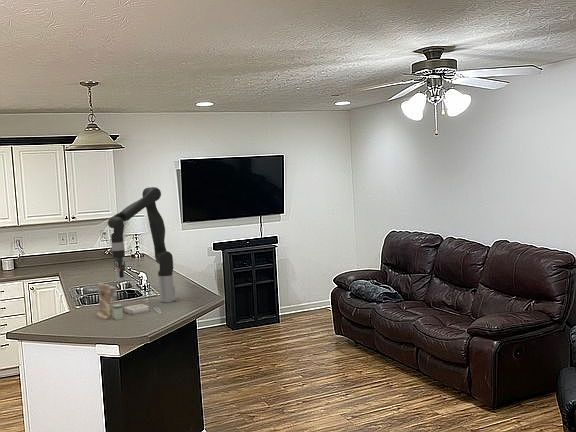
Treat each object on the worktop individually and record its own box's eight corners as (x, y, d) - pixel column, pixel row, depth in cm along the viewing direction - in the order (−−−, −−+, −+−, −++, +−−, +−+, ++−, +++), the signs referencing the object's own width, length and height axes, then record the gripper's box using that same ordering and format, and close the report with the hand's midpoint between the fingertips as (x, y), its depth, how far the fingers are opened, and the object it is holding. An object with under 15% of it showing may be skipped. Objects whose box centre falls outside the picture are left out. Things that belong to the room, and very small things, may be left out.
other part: (120, 317, 358) (119, 304, 357) (123, 318, 354) (121, 305, 354) (113, 318, 355) (112, 305, 355) (116, 320, 352) (115, 306, 351)
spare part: (122, 278, 378) (121, 266, 378) (125, 279, 375) (124, 266, 374) (116, 280, 376) (115, 267, 375) (118, 280, 372) (117, 267, 372)
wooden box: (111, 312, 373) (109, 281, 372) (121, 316, 360) (118, 284, 359) (96, 315, 367) (94, 283, 366) (105, 319, 354) (103, 286, 353)
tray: (142, 308, 379) (141, 304, 379) (149, 311, 369) (149, 306, 369) (124, 312, 372) (123, 307, 372) (131, 314, 363) (131, 310, 362)
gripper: (128, 249, 370) (130, 277, 372) (119, 248, 382) (122, 275, 383) (116, 251, 366) (118, 279, 367) (108, 249, 378) (110, 276, 379)
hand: (120, 276), depth 375 cm, fingers closed on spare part, 4 cm apart
